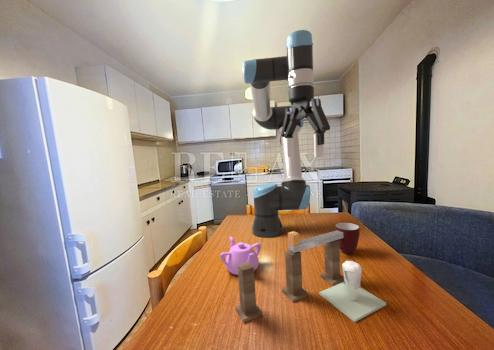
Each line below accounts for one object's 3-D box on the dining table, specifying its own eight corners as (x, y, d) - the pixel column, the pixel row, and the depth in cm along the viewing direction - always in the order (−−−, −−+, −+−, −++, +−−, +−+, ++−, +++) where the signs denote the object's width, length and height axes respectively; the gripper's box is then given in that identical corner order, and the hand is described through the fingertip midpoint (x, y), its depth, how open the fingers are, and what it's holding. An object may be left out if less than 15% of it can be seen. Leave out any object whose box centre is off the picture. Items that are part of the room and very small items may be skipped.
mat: (319, 294, 58) (319, 292, 58) (348, 281, 63) (348, 279, 63) (354, 322, 48) (354, 319, 48) (386, 305, 53) (386, 302, 53)
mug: (349, 262, 73) (349, 234, 72) (327, 254, 79) (327, 228, 78) (363, 251, 80) (363, 225, 79) (342, 245, 86) (341, 221, 85)
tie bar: (288, 249, 59) (287, 232, 58) (337, 235, 66) (336, 220, 65) (293, 253, 56) (293, 235, 56) (343, 237, 64) (343, 222, 63)
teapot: (254, 281, 66) (253, 253, 65) (215, 274, 71) (213, 248, 70) (266, 261, 77) (264, 238, 76) (231, 257, 82) (229, 234, 81)
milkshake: (336, 292, 57) (335, 256, 56) (355, 290, 58) (354, 254, 57) (345, 304, 53) (344, 265, 52) (366, 301, 53) (365, 263, 52)
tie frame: (235, 309, 54) (232, 264, 53) (332, 272, 68) (331, 235, 67) (243, 322, 50) (240, 274, 49) (345, 280, 64) (344, 241, 62)
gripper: (269, 97, 76) (272, 157, 78) (321, 71, 53) (323, 157, 55) (287, 98, 79) (289, 156, 81) (343, 74, 56) (344, 155, 59)
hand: (303, 157), depth 68 cm, fingers open, 13 cm apart
